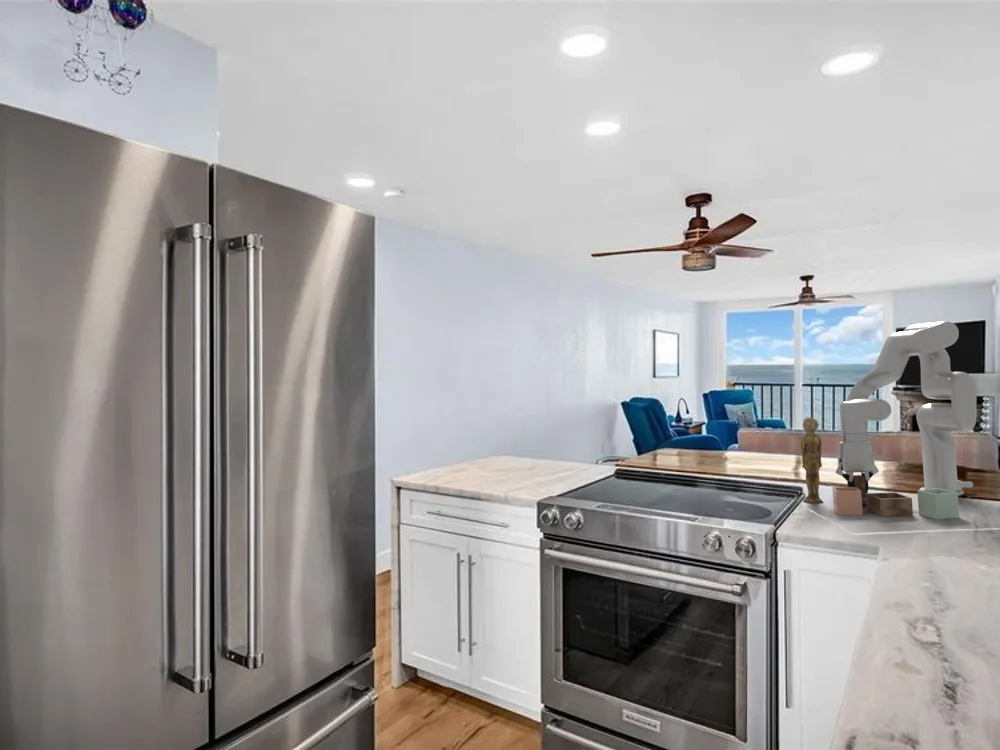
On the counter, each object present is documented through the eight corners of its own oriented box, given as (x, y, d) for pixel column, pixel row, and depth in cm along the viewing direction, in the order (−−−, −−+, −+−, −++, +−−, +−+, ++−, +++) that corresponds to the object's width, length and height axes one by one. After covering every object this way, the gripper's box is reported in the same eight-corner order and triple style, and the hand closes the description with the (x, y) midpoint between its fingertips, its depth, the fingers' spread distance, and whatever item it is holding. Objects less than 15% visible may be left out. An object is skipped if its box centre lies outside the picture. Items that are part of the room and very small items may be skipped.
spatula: (878, 505, 202) (878, 503, 202) (889, 504, 203) (888, 502, 203) (910, 515, 188) (910, 512, 188) (921, 514, 188) (921, 511, 188)
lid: (866, 496, 208) (865, 472, 208) (881, 502, 198) (879, 477, 198) (837, 498, 209) (835, 474, 209) (850, 504, 199) (848, 479, 199)
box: (896, 510, 194) (895, 492, 194) (913, 517, 185) (911, 498, 185) (867, 512, 195) (865, 493, 195) (881, 518, 186) (880, 499, 186)
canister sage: (940, 514, 187) (938, 488, 187) (959, 519, 180) (957, 492, 180) (919, 516, 186) (917, 490, 186) (937, 521, 179) (935, 494, 179)
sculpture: (820, 501, 213) (814, 416, 213) (828, 505, 207) (822, 417, 207) (800, 502, 214) (794, 417, 214) (807, 506, 208) (801, 418, 208)
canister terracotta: (858, 511, 196) (856, 487, 196) (862, 517, 190) (861, 491, 190) (833, 511, 199) (832, 486, 199) (837, 516, 192) (835, 491, 192)
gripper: (874, 435, 206) (878, 489, 206) (824, 438, 208) (827, 491, 208) (886, 437, 199) (890, 493, 199) (833, 440, 200) (837, 496, 200)
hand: (858, 492), depth 203 cm, fingers closed on lid, 3 cm apart
